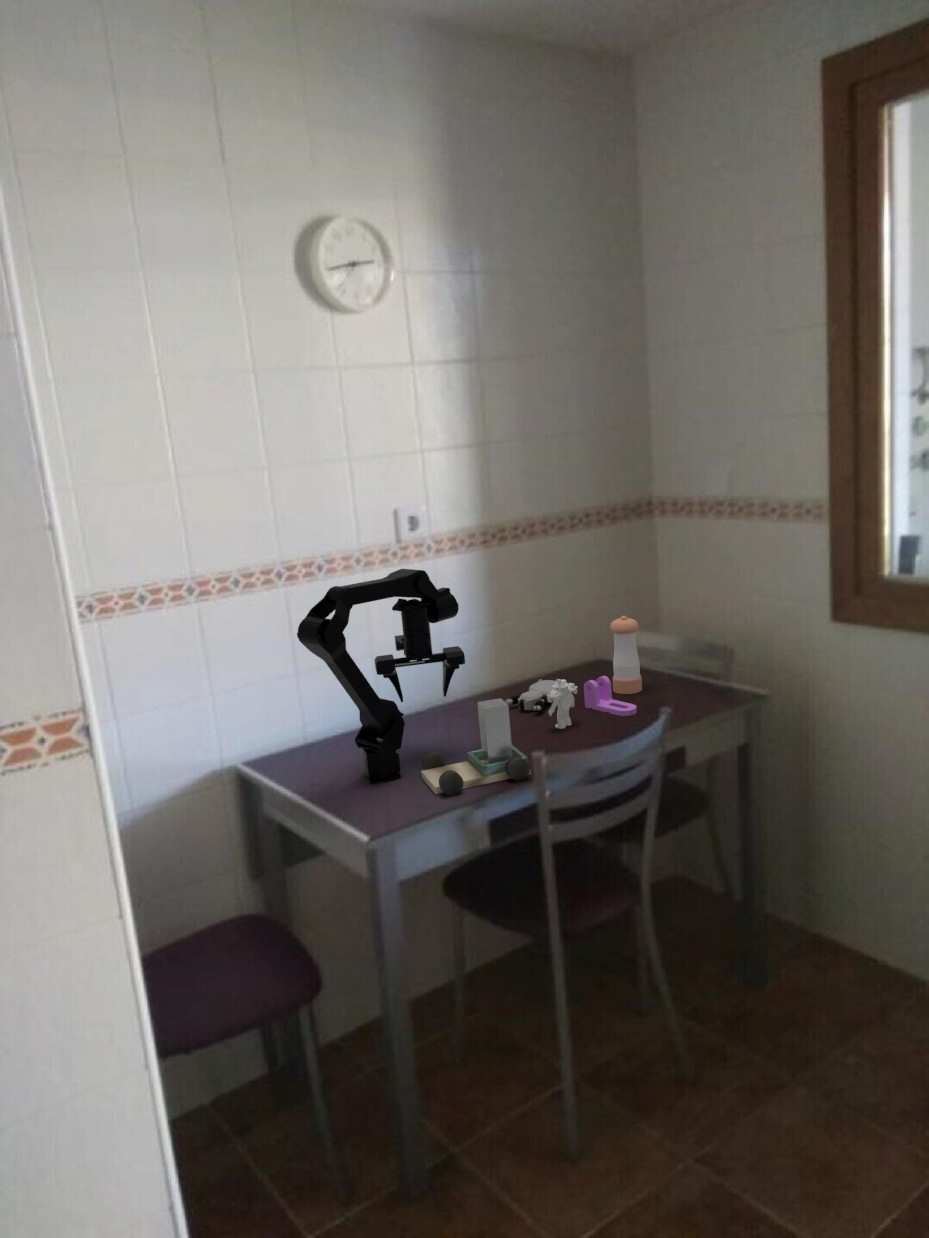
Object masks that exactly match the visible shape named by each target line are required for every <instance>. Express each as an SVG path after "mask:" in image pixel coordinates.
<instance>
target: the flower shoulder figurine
mask: <svg viewBox="0 0 929 1238" xmlns="http://www.w3.org/2000/svg"><path fill="white" fill-rule="evenodd" d="M555 681H557V682H555V685H553V686H552V687H554V688H556V690H557V691H556V690H555V691H553V690H552V691H551V692H550V693H549V694H548V695H547V696H548V697H547V699H548V701H549V702H552V700H553V699H554V701H553V703H551V706H550V708H549V710H548V711H547V713H548V715H549V716H550V717H552V715H553V713H555V711H556V710H555V709H556V708H557V712H556V713H557V714H556V720H557V723H556V724H555V729H559V730H562V729H563V730H564V729H566V727H571V726H572V725H573V723H572V719H571V717H570V715H569V714H570V708H574V707H575V705H576V704H575V697H574V695H577V693H578V686H577V685H575V682H574V683H573V682H567V680H566V678H565V679H560V678H557V679H556V680H555ZM576 688H577V689H576ZM549 691H550V690H549ZM571 692H572V693H571ZM573 694H574V695H573ZM550 699H552V700H550Z"/></svg>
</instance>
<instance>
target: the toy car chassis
mask: <svg viewBox="0 0 929 1238" xmlns="http://www.w3.org/2000/svg"><path fill="white" fill-rule="evenodd" d="M466 755H467V761H462V762H457V763H452V764H447V765H445V764H446V763H445V759H444V758H443V756H441V755H440V753H439V752H437V751H433V750H432V751H428V752H426V753H425V754H424V755H423V756H422V759H421V762H420V763H421V767H422V769H423V770H420V776H421V778H420V779H422V780H423V781H424V783H426V785H427V787H429V788H430V790H431V791H432V792H433V793H434V794H435V795H436V796H437V795H441V794H446V795H448V796H455V795H457V794H459V793H460V792H461V791H462V790H464V789H468V788H473V787H477V786H478V787H479V786H483V785H487V784H492V783H496V782H502V781H505V780H510V779H511V780H514V781H516V782H519V781H520V782H521V781H523V780H525V779H526V778H528V776H529V775H531V767H530V764H529V757H528V756H527V755H526V754H525V753H523V752H522V751H520V750H519V749H518V748H517V747H516V746H514V745H513V744H512V756H513V757H512V758H511V759H510V760H507V761H502V762H498V763H493V764H488V765H485V764H484V763H483V760H482V748H481V749H477V750H472V751H467V753H466Z"/></svg>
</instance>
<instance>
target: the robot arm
mask: <svg viewBox="0 0 929 1238" xmlns="http://www.w3.org/2000/svg"><path fill="white" fill-rule="evenodd" d="M398 597H399V598H398ZM390 598H391V599H392V598H398V599H397V601H396V603H395V604H393V606H392V608H391V610H392V611H393V612H394V611H395V612H400V617H401V625H402V634H401V635H394V642H395V643H394V644H395V650H396V651H403V655H404V656H405V657H398V658H397V657H395V658H394V656H393V653H391V654H384V655H377V656H376V657H375V658H374V668H375V672H376V675H379V676H383V677H382V678H384V679H389V681H390V682H391V684H392V686H393V687H394V689H395V691H396V693H397V696H398V698H399V700H400V703H404V696H403V692H402V688H401V684H400V680H399V676H398V672H397V668H403V667H411V666H419V665H427V664H435V663H442V693H443V697H444V698H445V697H447V693H448V691H449V686H450V682H451V680H452V678H453V675H454V673H455V671H456V670H459V669H460V666H461V665H465V664H466V657H465V653H464V651H463V649H462V648H461V647H460V646H459V645H456V646H448V647H443V648H442V652H438V653H433V647H432V645H433V643H432V637H431V634H432V633H431V627H430V624H435V623H436V624H437V623H439V622H443V621H447V620H449V619H452V618H455V617H456V616H457V615H458V613H459V609H460V608H459V602H458V601H457V599H456V597H455V596H454V594H452V593H451V588H450V587H444V586H443V587H440V588H438V589H437V587H436V586H435V585H434V583H433V582H432V580H431V579H430V576H429V574H428V573H427V571H426V570H423V569H411V568H410V569H409V568H400V569H397V570H395V571H393V572H391V573H389V574H388V575H386V576H385V577H382V578H377V579H374V580H373V579H372V580H367V581H361V582H357V583H352V584H346V585H335V586H331V588H329V589H328V590H327V591H326V594H325V595H324V596H323V597H322V599H320V600H319V601H318V602H317V603H316V604H314V606H313V607H311V608H310V610H309V611H308V613H307V614H306V616H305V617H304V619H301V620H302V621H300V623H299V625H298V628H297V632H296V636H297V639H298V641H299V642H300V644H302V645H303V646H304V647H305V648H306V649H307V650H308V651H309V652H311V653H312V654H313V655H314V656H316V657H318V658H319V659H320V660H323V662H325V664H326V666H327V667H328V668H329V670H330V671H331V672H332V673H333V675H334V677H335V679H337V680H338V682H339V684H340V685H341V686H342V687H343V689H344V691H345V693H347V695H348V696H349V698H350V699H351V700H352V702H353V704H354V705H355V706H356V707H357V709H358V712H359V721H360V724H361V727H360V729H359V731H358V732H357V733H356V736H355V738H354V742H355V745H356V747H357V748H358V749H362V753H363V762H364V768H365V769H364V770H365V771H364V772H363V775H364V776H365V779H367V781H368V782H369V784H371V785H373V784H377V783H381V782H387V781H393V780H397V779H401V778H402V775H401V774H400V773H401V771H402V770H401V761H400V760H401V759H400V753H399V752H398V751H399V750H400V749H401V747H402V743H403V738H404V731H405V726H406V723H405V722H406V721H405V719H404V716H405V714H404V713H403V712H401V710H399V707H398V705H397V703H396V702H395V701H393V700H389V699H385V698H381V697H380V696H378V694H377V692H376V690H375V689H374V688H373V687H372V685H371V684H370V683H369V681H368V679H367V677H365V675H364V674H363V672H362V671H361V669H360V668H359V667H358V665H357V664H356V662H355V660H354V659H353V658H352V657H351V655H350V653H349V652H348V651H347V650H348V649H347V640H346V636H345V634H344V631H345V630H346V628H347V627H348V625H349V624H348V623H349V620H350V613H351V610H352V608H353V606H356V605H361V604H366V603H371V602H376V601H381V600H385V599H390ZM405 598H412V599H405ZM419 599H420V600H419ZM333 612H334V614H333V615H332V617H331V618H328V617H329V616H330V615H331V614H332V613H333Z"/></svg>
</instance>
